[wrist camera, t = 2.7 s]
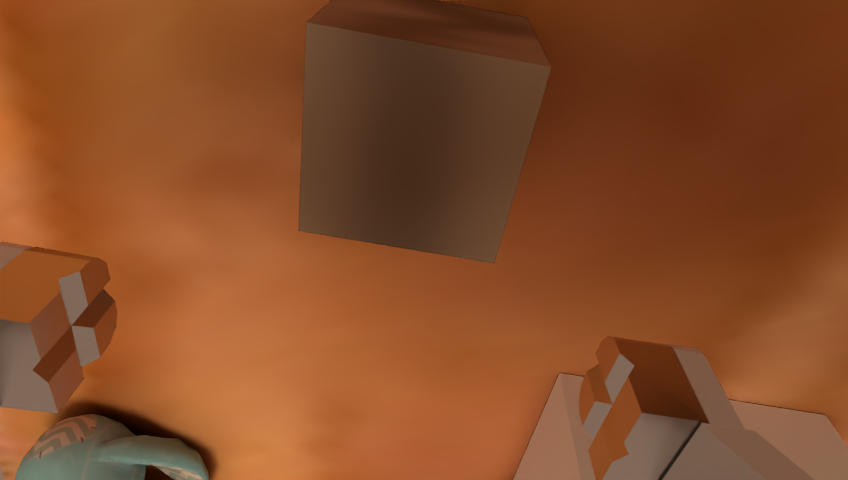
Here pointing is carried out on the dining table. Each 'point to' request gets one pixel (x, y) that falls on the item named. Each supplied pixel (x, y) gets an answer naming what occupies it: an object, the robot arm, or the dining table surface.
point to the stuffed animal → (106, 453)
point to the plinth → (783, 428)
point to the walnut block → (417, 123)
